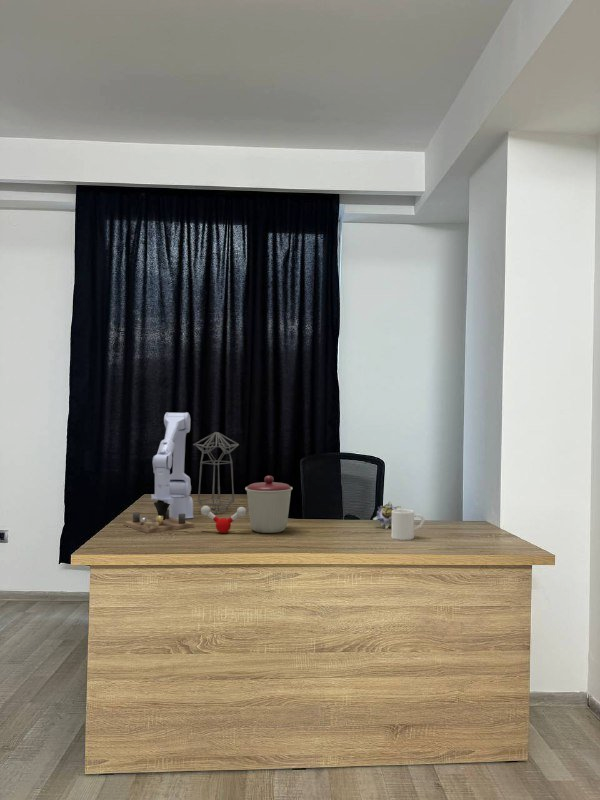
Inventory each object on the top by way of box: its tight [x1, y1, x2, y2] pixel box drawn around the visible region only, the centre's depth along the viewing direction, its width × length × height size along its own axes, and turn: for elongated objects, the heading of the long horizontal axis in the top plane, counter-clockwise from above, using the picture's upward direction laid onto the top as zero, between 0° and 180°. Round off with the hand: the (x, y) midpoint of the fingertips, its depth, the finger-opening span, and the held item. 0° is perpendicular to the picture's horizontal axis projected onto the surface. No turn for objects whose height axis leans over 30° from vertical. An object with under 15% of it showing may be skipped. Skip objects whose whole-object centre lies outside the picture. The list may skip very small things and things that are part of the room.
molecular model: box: [200, 505, 248, 534], centre depth 275 cm, size 18×6×10 cm, turn 79°
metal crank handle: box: [140, 514, 163, 525], centre depth 282 cm, size 9×3×3 cm, turn 79°
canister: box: [244, 475, 293, 534], centre depth 279 cm, size 18×18×21 cm
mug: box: [390, 508, 426, 541], centre depth 267 cm, size 8×12×10 cm, turn 82°
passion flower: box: [372, 501, 402, 530], centre depth 288 cm, size 11×11×12 cm
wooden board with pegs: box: [123, 508, 195, 534], centre depth 287 cm, size 20×20×5 cm
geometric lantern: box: [192, 431, 240, 514], centre depth 322 cm, size 16×16×35 cm
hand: (162, 520), depth 284 cm, fingers closed
